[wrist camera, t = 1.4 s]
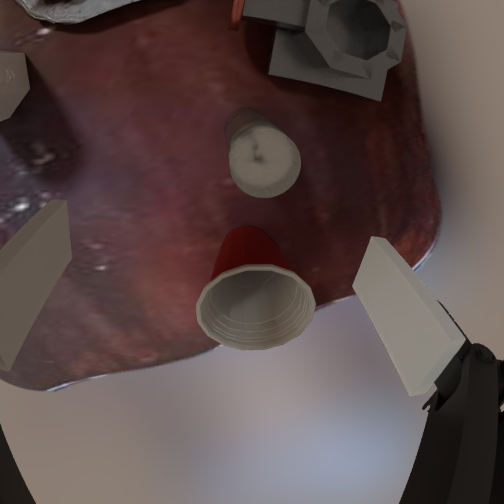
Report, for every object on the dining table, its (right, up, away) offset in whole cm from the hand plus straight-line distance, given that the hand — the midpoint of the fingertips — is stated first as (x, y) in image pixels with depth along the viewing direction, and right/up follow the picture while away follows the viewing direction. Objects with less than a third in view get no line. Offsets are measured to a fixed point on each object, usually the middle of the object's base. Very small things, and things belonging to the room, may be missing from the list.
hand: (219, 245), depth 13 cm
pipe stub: (+1, +12, +18) cm, 22 cm away
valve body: (+7, +22, +13) cm, 27 cm away
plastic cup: (+1, 0, +26) cm, 26 cm away
